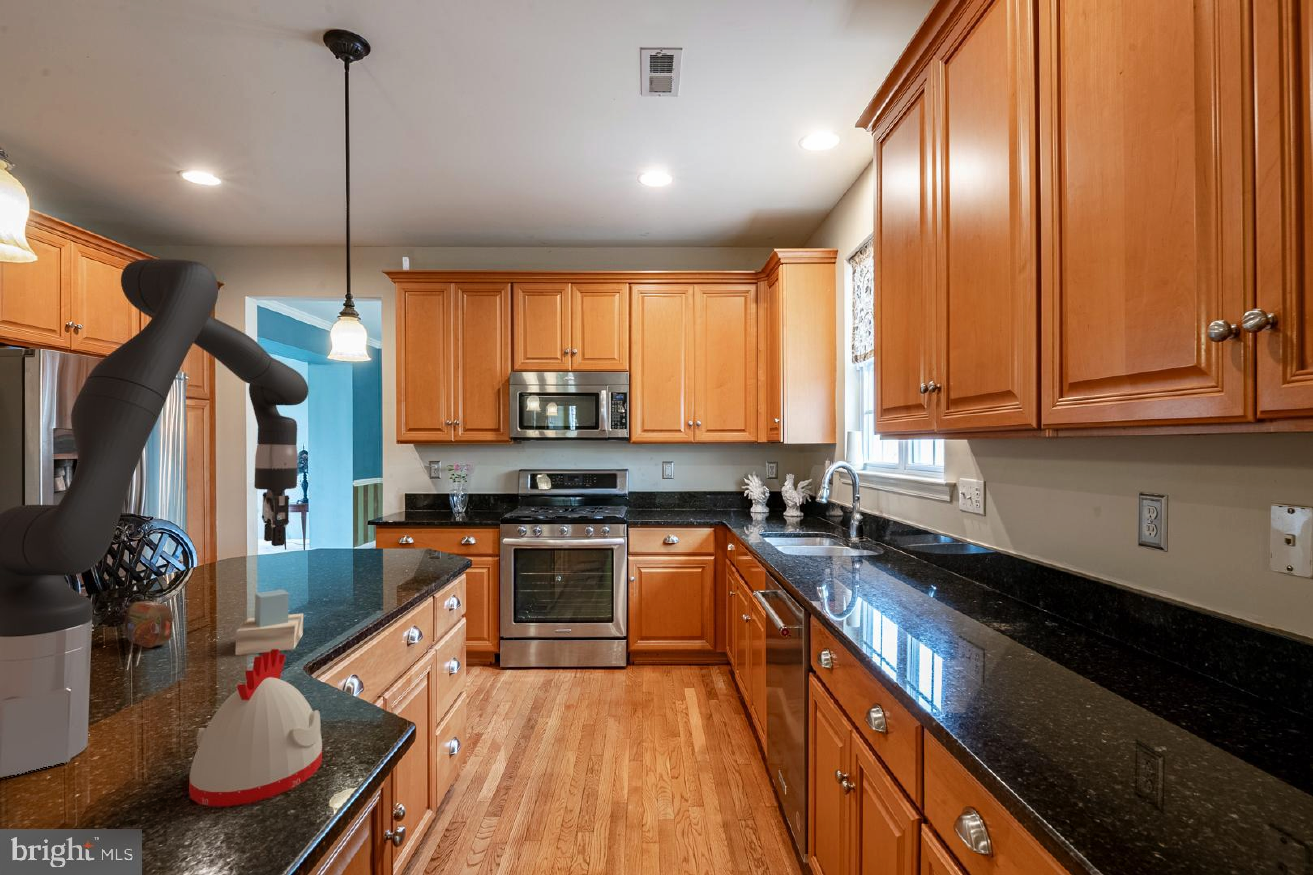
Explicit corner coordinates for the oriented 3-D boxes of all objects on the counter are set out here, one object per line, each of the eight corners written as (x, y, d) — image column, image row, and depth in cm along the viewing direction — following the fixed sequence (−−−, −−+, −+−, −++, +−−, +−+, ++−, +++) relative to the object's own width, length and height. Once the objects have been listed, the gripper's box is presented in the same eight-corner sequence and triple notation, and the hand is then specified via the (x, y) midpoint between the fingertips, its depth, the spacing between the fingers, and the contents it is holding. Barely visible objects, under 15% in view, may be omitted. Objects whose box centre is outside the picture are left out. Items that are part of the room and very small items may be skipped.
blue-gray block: (288, 622, 122) (289, 593, 122) (259, 627, 118) (260, 597, 118) (282, 617, 125) (282, 589, 125) (254, 621, 122) (255, 593, 122)
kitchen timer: (342, 745, 81) (344, 637, 81) (281, 806, 67) (285, 675, 68) (239, 746, 80) (243, 637, 81) (158, 806, 67) (162, 675, 67)
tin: (122, 639, 124) (123, 599, 124) (141, 635, 127) (142, 596, 127) (156, 651, 117) (158, 609, 117) (175, 647, 120) (176, 605, 120)
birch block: (293, 650, 119) (294, 625, 119) (235, 656, 115) (236, 631, 116) (302, 636, 128) (303, 613, 129) (248, 641, 125) (249, 617, 125)
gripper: (304, 467, 120) (302, 545, 120) (290, 465, 131) (287, 537, 130) (261, 467, 115) (258, 549, 115) (249, 465, 126) (247, 540, 125)
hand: (274, 543), depth 122 cm, fingers open, 8 cm apart
